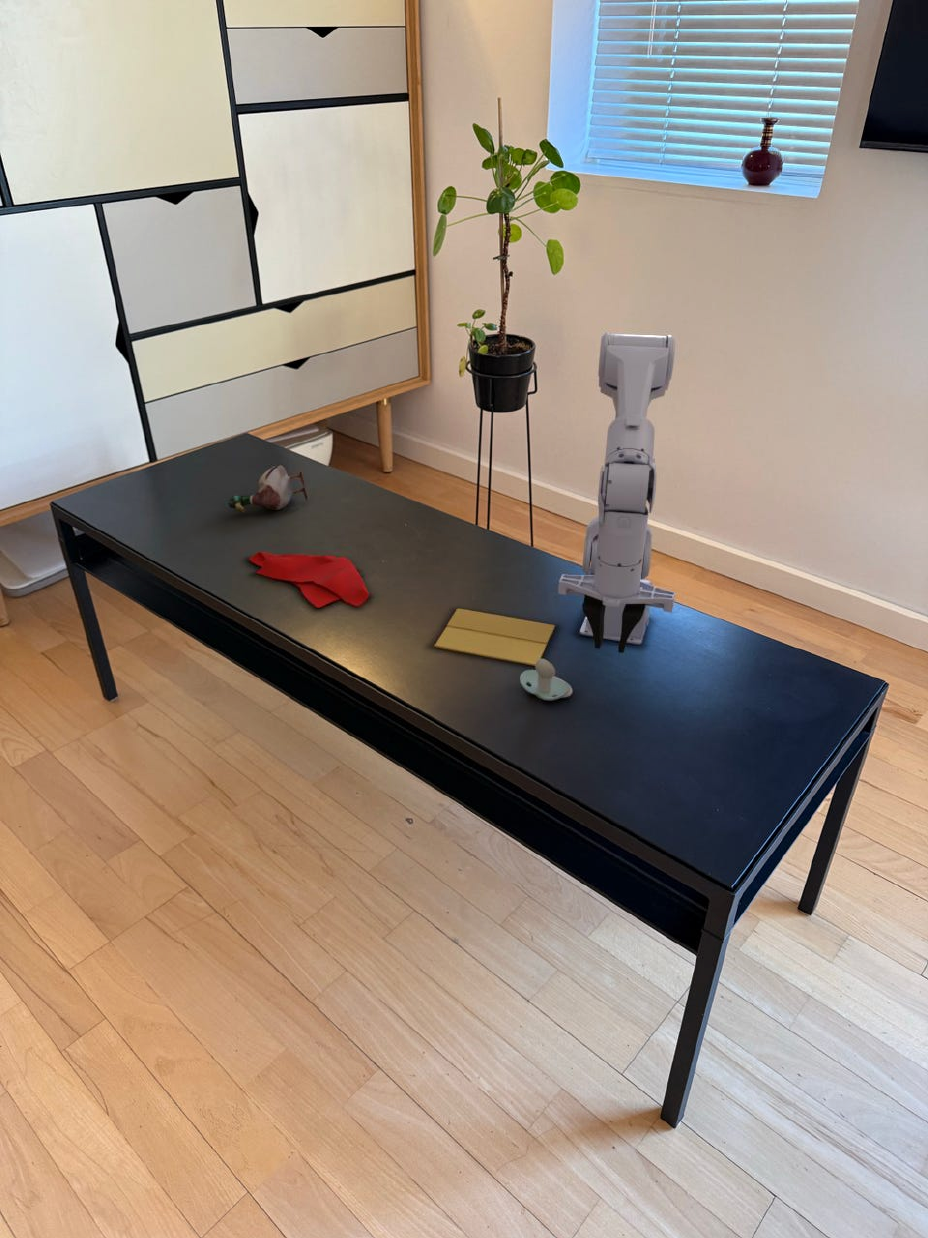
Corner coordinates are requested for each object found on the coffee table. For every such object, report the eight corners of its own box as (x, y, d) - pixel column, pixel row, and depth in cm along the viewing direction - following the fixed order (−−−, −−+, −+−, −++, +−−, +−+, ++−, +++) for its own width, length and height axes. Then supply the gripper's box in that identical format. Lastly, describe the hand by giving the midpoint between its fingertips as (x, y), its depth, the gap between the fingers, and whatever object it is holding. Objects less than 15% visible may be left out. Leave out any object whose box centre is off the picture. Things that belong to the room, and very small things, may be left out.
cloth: (396, 588, 148) (395, 576, 147) (330, 619, 140) (329, 607, 139) (304, 538, 164) (303, 527, 163) (240, 563, 156) (238, 552, 155)
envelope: (554, 627, 138) (555, 624, 138) (537, 666, 129) (537, 663, 129) (458, 610, 143) (457, 607, 142) (434, 647, 134) (434, 644, 133)
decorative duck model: (225, 495, 165) (218, 462, 177) (235, 530, 169) (227, 496, 181) (304, 478, 168) (292, 447, 180) (312, 513, 172) (300, 480, 184)
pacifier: (538, 673, 128) (514, 692, 124) (541, 636, 125) (516, 654, 121) (581, 692, 124) (558, 712, 120) (585, 655, 121) (561, 674, 117)
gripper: (555, 561, 108) (549, 653, 116) (674, 580, 105) (661, 673, 112) (567, 536, 114) (562, 625, 121) (682, 553, 110) (668, 643, 117)
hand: (610, 646), depth 117 cm, fingers closed
